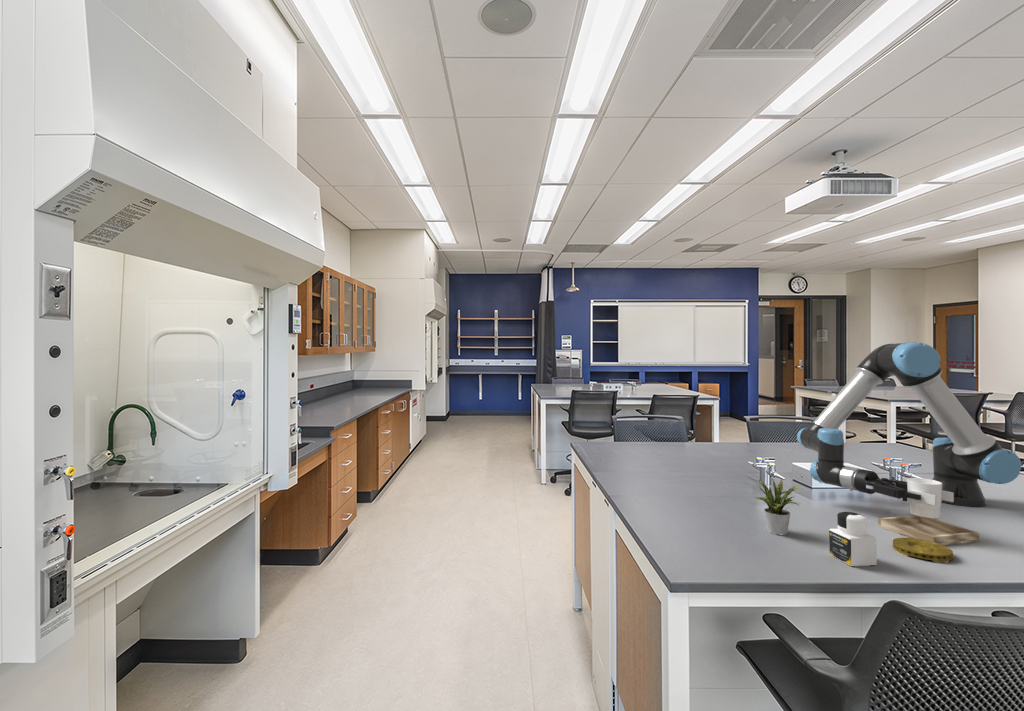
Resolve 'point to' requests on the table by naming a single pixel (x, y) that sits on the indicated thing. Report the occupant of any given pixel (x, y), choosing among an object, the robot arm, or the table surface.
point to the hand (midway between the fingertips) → (944, 498)
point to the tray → (928, 529)
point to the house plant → (777, 508)
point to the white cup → (929, 488)
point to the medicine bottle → (852, 541)
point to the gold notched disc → (923, 549)
